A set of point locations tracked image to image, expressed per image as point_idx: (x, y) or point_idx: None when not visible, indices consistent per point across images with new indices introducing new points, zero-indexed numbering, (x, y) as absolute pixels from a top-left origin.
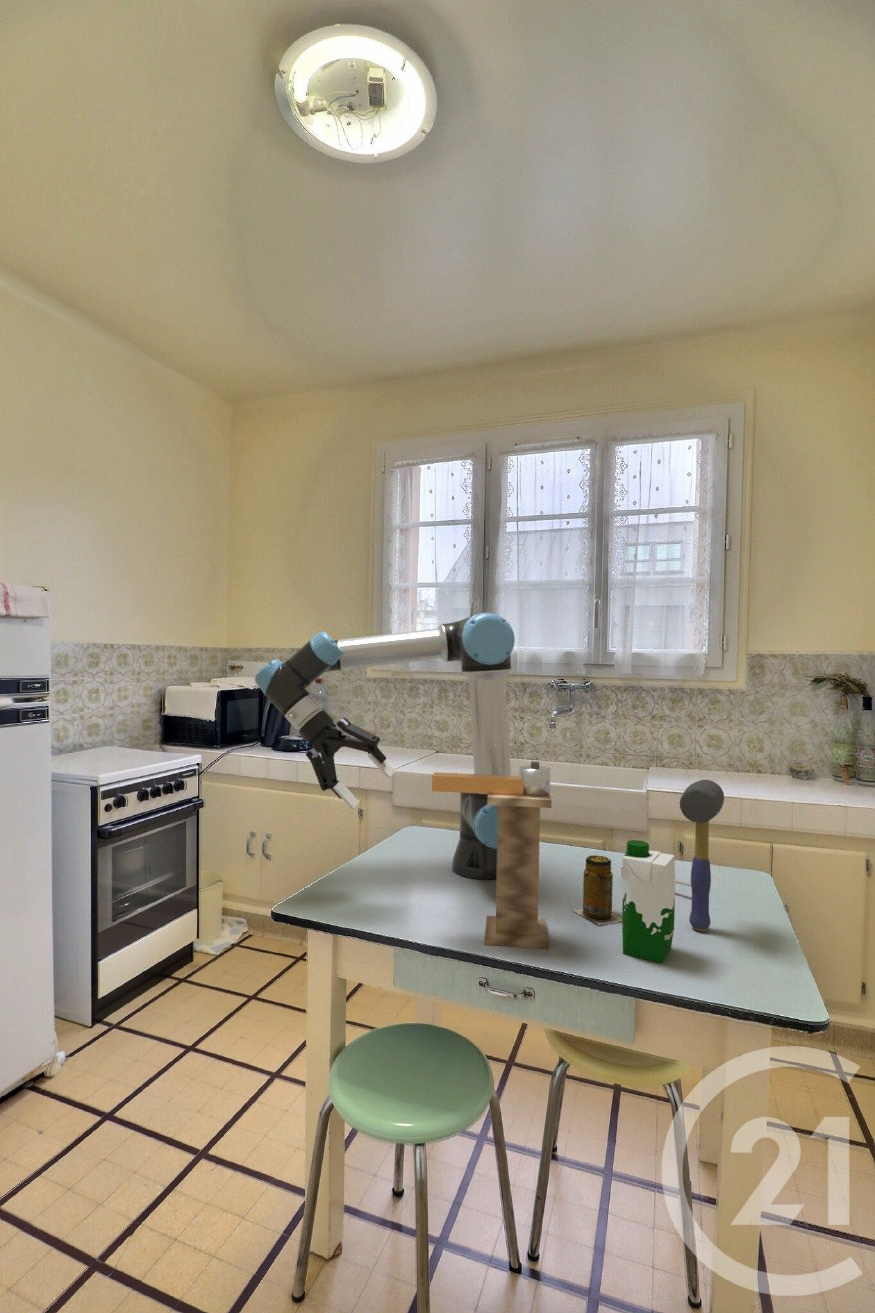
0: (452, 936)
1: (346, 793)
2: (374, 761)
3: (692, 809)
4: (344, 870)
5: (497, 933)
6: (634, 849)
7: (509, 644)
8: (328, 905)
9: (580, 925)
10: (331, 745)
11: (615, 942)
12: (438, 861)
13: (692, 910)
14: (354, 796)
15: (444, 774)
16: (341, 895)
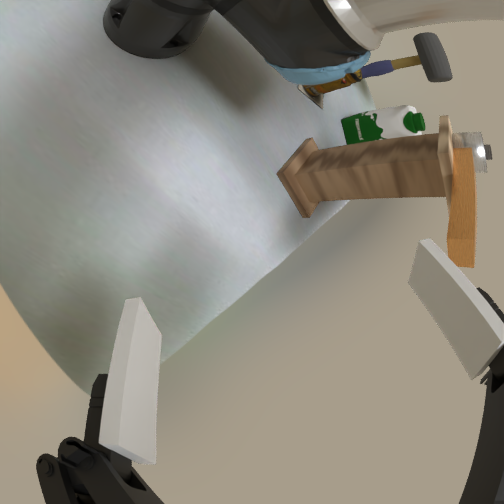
0: (279, 231)
1: (142, 383)
2: (459, 346)
3: (437, 80)
4: None
5: (311, 202)
6: (421, 130)
7: None
8: (114, 334)
9: (315, 116)
10: None
11: (338, 131)
12: (68, 31)
13: None
14: (135, 328)
15: (475, 237)
16: (81, 294)
